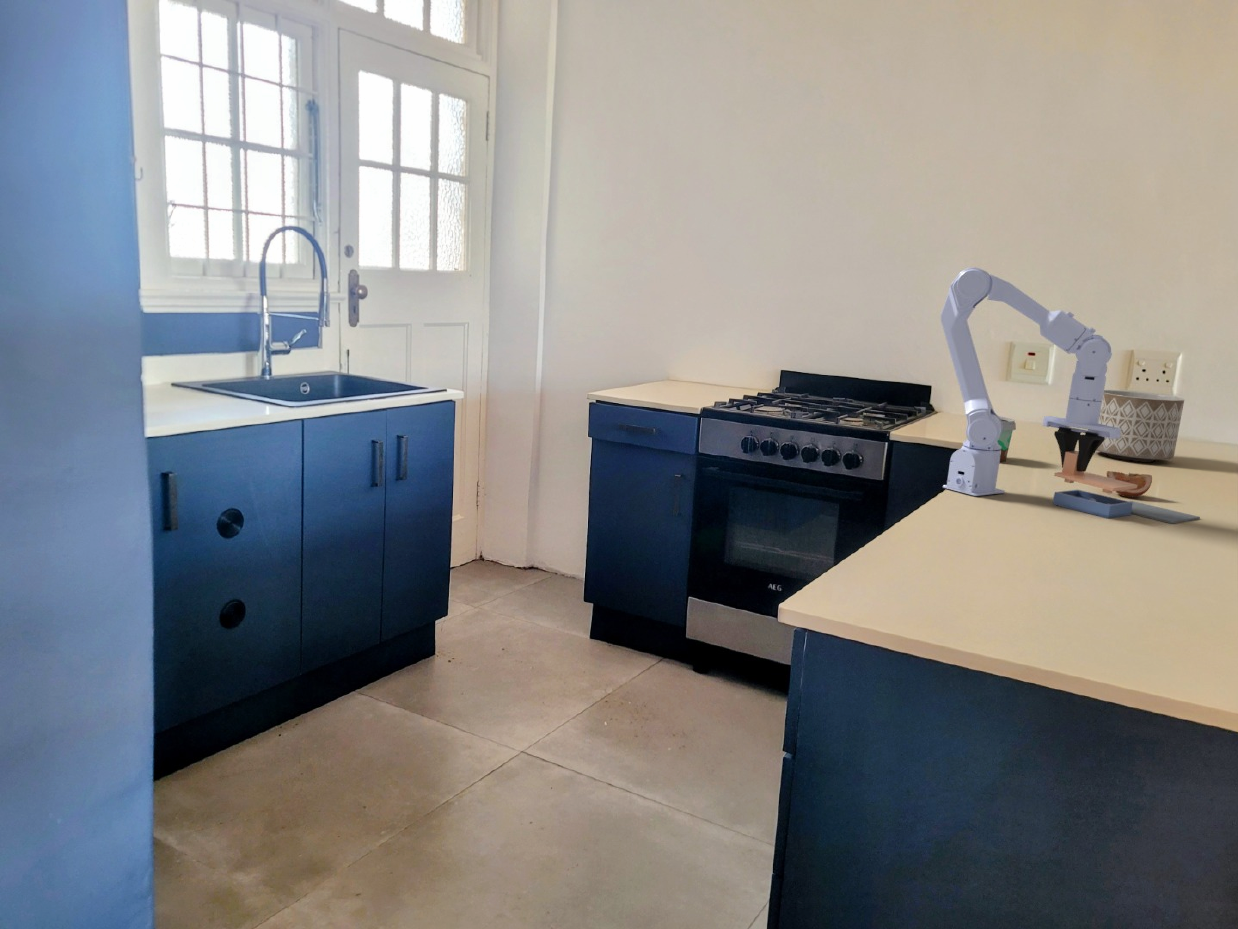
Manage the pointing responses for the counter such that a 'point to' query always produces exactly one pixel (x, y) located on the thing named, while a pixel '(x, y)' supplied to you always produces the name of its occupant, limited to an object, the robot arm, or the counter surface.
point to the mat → (1160, 513)
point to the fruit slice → (1137, 479)
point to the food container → (1006, 436)
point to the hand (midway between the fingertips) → (1073, 469)
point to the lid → (1089, 476)
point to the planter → (1141, 424)
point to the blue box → (1092, 503)
